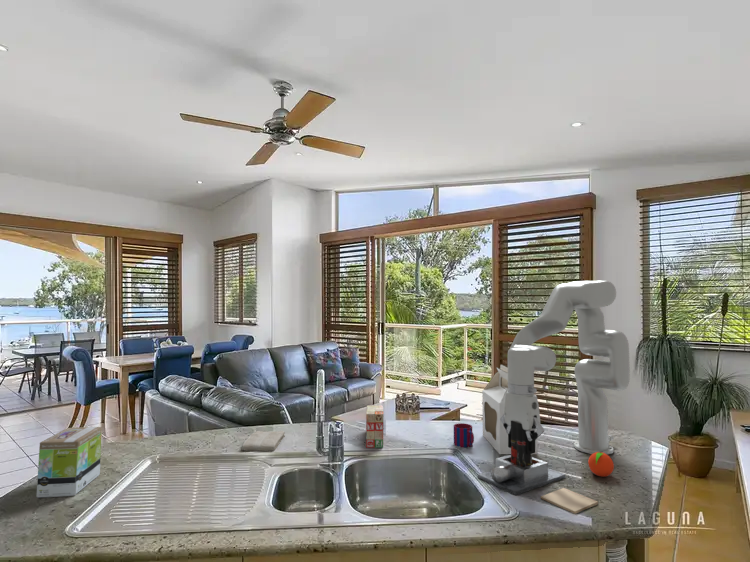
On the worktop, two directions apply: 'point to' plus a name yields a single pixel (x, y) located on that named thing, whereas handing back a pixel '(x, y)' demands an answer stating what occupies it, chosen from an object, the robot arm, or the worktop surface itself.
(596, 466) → the clementine
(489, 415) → the gable box
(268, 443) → the washcloth
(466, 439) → the mug
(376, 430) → the stack of blocks
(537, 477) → the grey square holder
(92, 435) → the tea box
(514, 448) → the deodorant
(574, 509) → the coaster
